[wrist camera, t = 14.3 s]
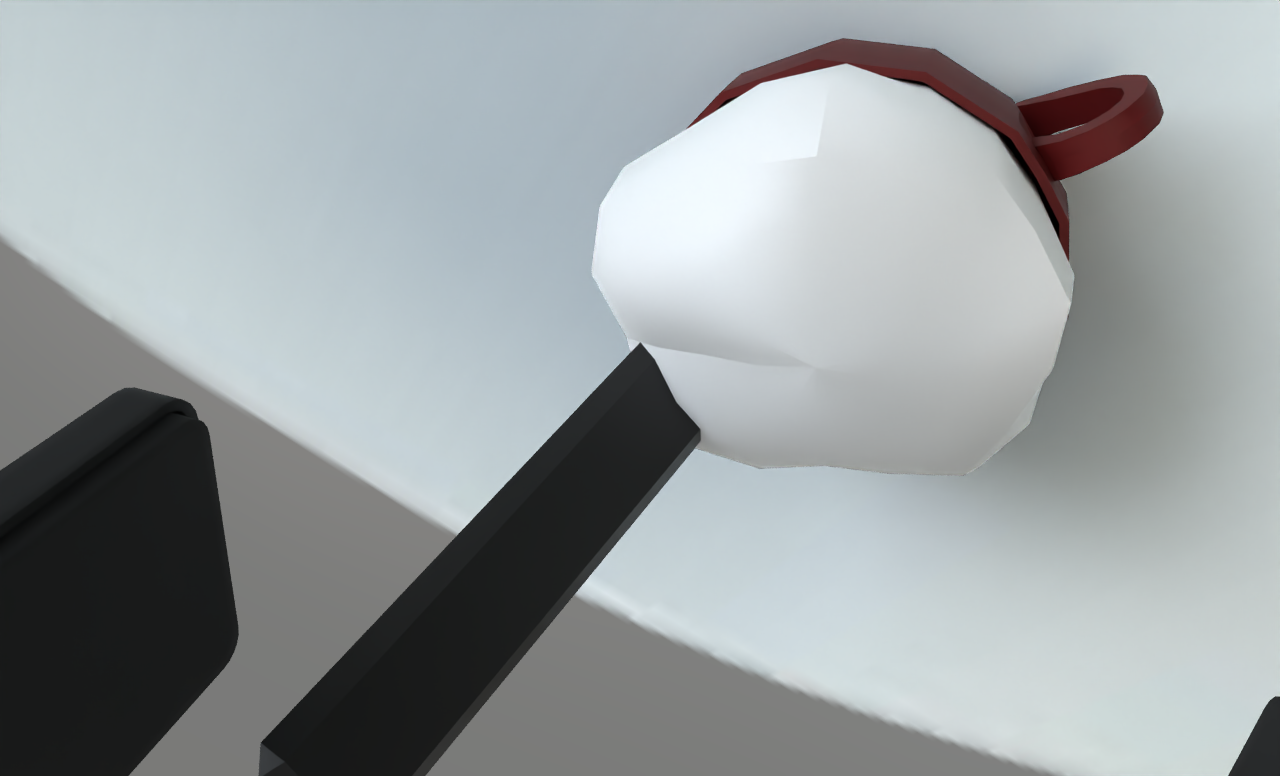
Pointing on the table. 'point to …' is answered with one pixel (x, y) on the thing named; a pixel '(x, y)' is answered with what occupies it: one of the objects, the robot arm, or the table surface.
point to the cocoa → (757, 348)
